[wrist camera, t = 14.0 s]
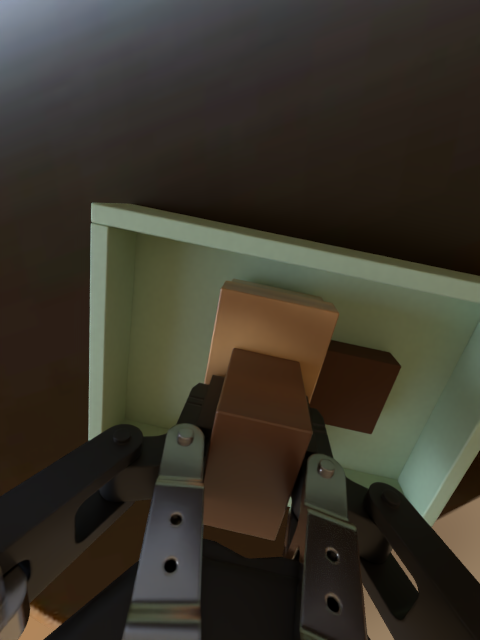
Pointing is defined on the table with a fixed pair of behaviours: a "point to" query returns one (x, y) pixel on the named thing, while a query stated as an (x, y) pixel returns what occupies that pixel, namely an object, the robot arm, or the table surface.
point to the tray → (352, 327)
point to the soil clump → (354, 386)
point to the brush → (261, 401)
